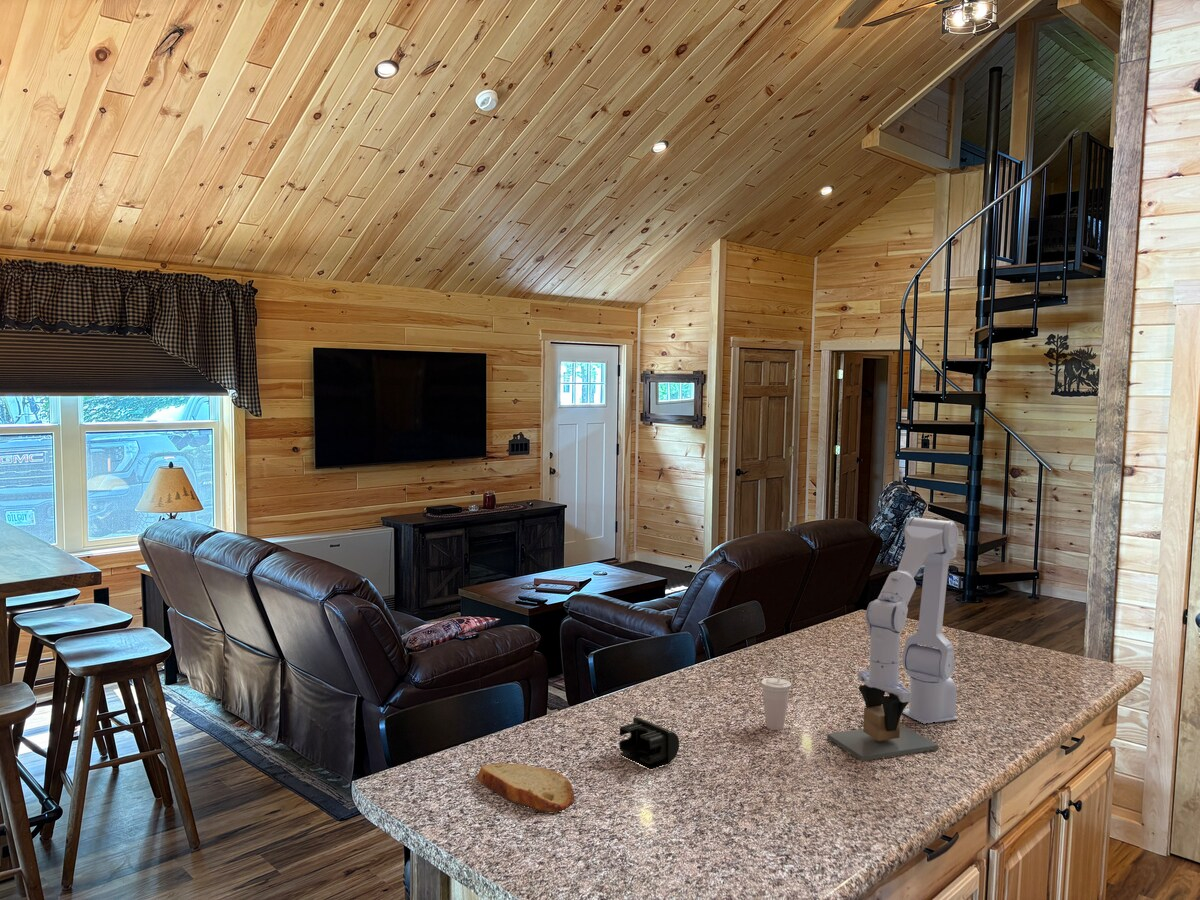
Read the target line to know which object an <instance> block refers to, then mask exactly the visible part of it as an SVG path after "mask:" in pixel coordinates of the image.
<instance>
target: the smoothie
mask: <svg viewBox="0 0 1200 900" xmlns="http://www.w3.org/2000/svg"><path fill="white" fill-rule="evenodd" d="M760 687H761V689H762V699H763V709H764V717H765V727H766V728H767V729H768V730H773V731H781V730H784V728H785V723H786V722H785V721H786V716H787V711H788V710H787V709H788V701H789V696H790V690H791V689H792V683H791V682H790V681H789V680H787V679H784V678H781V662H779V661H777V677H767V678H763V679H762V680H761V681H760Z"/></svg>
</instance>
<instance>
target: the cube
mask: <svg viewBox="0 0 1200 900" xmlns="http://www.w3.org/2000/svg"><path fill="white" fill-rule="evenodd" d="M900 724H901V718H900V719H899V723H898V726H897V729H896V730H895V731H886V727H885V716H884V709H883V705H882V706H874V707H867V708H866V707H864V708H863V725H862V726H863V728H862V729H863V732H865V733H866V734H868V735H870V736H871V737H873V738H874V739H876V740H878V741H882V740H889V739H895V738H899V734H900Z"/></svg>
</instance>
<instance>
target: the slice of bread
mask: <svg viewBox="0 0 1200 900" xmlns="http://www.w3.org/2000/svg"><path fill="white" fill-rule="evenodd" d="M476 779H477V780H478V781H479V782H480V783H481V784H482V783H483V784H484V785H483V784H482V785H483V786H484V787H486V786H487V787H488V789H489V790H490V789H491V791H492V790H493V791H492V792H494V793H495V792H496V793H495V794H497V793H498V794H497V795H498V796H500V795H501V796H500V797H502V798H503V797H504V798H503V799H506V800H507V801H509V802H512V803H514V804H515V805H517V804H520V805H519V806H522V805H523V806H522V807H524V806H525V807H529V808H528V809H531V808H532V810H534V809H535V810H534V811H537V812H539V811H542V812H541V813H544V812H559V811H562V810H565V809H566V808H568V807H569V806H570V805H572V804H573V803H574V804H575V792H574V788H573V787H572V784H571V782H570V780H568V779H567V778H566V777H565V776H564V775H563V774H561V773H558V772H557V771H553V770H552V769H549V768H547V767H546V768H545V767H536V766H534V765H533V766H532V765H528V764H523V763H522V764H521V763H507V762H497V763H489V764H484V765H482V766H480V769H479V771H478V773H477V776H476ZM487 787H486V788H487ZM525 807H524V808H525Z"/></svg>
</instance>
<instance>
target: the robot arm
mask: <svg viewBox="0 0 1200 900" xmlns="http://www.w3.org/2000/svg"><path fill="white" fill-rule="evenodd" d="M903 533H904V534H903V535H904V544H905V547H904V550H903V553H902V556H901V559H900V562H899V563H898V564H899V565H898V567H897V570H895V571H891V572H890V573H889V574H888V576H887V577H886V580H885V583H884V585H883V586H882V589H881V591H880V593H879V595H878V596H877V599H874V600H872V601H870V602H869V603H868V606H867V607H866V613H865V623H866V625H867V634H868V636H869V637H870V638H869V639H870V641H869V643H870V644H869V645H870V647H869V670H867V669H864V670H863V669H861V670H858V673H857V675H858V676H857V680H858V681H861V682H864V684H863V685H859V686H858V689H859V692H860V694H861V696H862V698H863V701H864V702H865V703H864V704H865V708H867V707H874V706H882V705H883V709H884V716H885V727H886V731H895V730H896V729H897V726H898V723H899V719H900V720H901V717H902V714H904V715H905V716H907V717H909V718H911V719H913V720H915V721H916V720H917V722H918V721H919V722H918V723H920V722H921V723H920V724H922V723H923V725H927V724H926V723H928V724H933V722H935V723H942V722H948V721H954V720H957V721H958V720H959V717H958V715H957V716H956V714H957V713H956V712H957V687H956V684H955V681H954V680H953V678H952V675H953V674H954V670H955V661H956V660H955V655H954V652H955V651H954V650H955V648H954V647H955V645H953V644H952V642H951V641H950V640H948V638H947V637H946V636H945V635H944V634H943V633H942V632H943V624H944V623H943V621H944V613H945V603H946V592H947V583H948V573H949V564H950V560H952V559H955V558H956V557H957V554H958V553H957V552H958V546H959V536H960V535H959V533H960V532H959V529H958V526H957V524H956V523H955V521H953V520H941V519H934V518H933V519H932V518H923V517H916V516H911V517H909V519H907V521H906V522H905V525H904V531H903ZM923 564H924V566H923ZM922 566H923V567H924V568H923V577H922V589H921V596H920V606H919V607H920V608H919V616H918V618H919V619H918V628H917V631H916V632H915V633H912V634H911V635H909V636H908V637H907V638H906V639H905V644H904V647H903V651H902V654H901V650H900V649H901V632H902V631H903V629H904V628H905V626H906V623H907V616H908V611H909V607H908V605H909V603H910V601H911V598H912V596H913V594H914V592H915V590H916V588H917V583H916V580H915V579H914V578H915V577H916V575H917V573H918V572H919V570H920V568H921V567H922ZM900 655H901V656H900ZM900 657H901V659H900ZM900 660H901V665H902V666H903V669H904V671H905V672H906V674H907V676H909V677H910V678H909V690H908V689H907V688H906V687H905V686H904V685H903V684H902V683H901V682H900ZM886 693H887V694H888V695H885V694H886ZM907 706H908V708H906V707H907Z"/></svg>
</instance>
